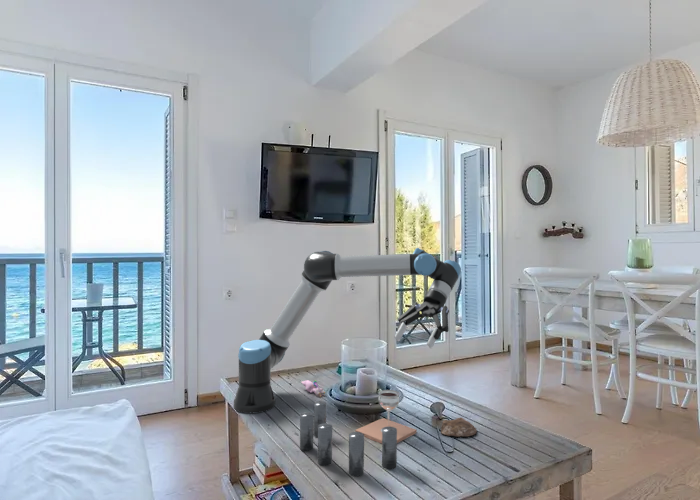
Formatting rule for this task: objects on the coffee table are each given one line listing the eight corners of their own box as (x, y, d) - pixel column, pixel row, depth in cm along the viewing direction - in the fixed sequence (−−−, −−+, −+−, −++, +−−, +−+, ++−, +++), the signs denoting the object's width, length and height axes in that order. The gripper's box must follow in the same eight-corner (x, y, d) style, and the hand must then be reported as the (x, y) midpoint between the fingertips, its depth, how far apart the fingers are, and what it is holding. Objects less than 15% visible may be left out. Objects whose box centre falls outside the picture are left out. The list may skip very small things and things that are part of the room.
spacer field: (283, 446, 132) (283, 412, 132) (320, 431, 143) (320, 400, 143) (363, 487, 110) (363, 447, 110) (399, 465, 121) (399, 429, 121)
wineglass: (386, 436, 137) (387, 398, 137) (373, 429, 142) (374, 392, 142) (403, 432, 141) (403, 394, 140) (390, 424, 146) (390, 388, 146)
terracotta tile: (355, 433, 142) (355, 429, 142) (382, 420, 152) (382, 417, 152) (389, 447, 132) (389, 443, 132) (416, 432, 142) (416, 429, 142)
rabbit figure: (329, 399, 177) (308, 383, 188) (330, 385, 176) (309, 370, 188) (316, 402, 173) (295, 386, 184) (317, 388, 172) (297, 373, 184)
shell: (478, 427, 149) (478, 416, 149) (476, 442, 137) (476, 431, 137) (443, 422, 153) (443, 411, 153) (438, 437, 141) (438, 425, 141)
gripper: (471, 306, 155) (448, 355, 145) (413, 299, 173) (388, 343, 162) (464, 291, 152) (439, 341, 141) (405, 286, 169) (379, 330, 158)
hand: (412, 342), depth 151 cm, fingers open, 13 cm apart
